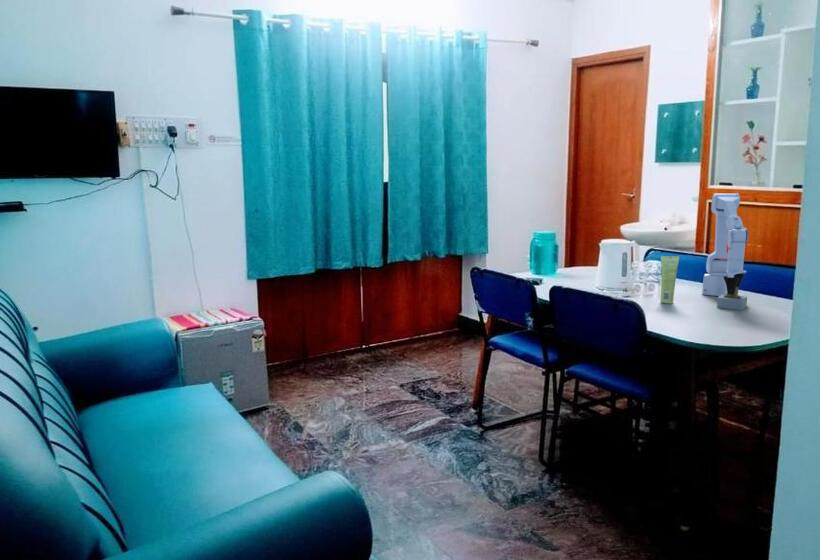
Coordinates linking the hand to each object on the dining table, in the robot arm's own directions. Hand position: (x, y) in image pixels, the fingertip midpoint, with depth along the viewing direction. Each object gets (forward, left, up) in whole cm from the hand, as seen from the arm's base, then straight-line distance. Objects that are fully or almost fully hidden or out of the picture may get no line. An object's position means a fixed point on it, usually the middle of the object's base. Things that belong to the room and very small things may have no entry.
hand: (732, 292), depth 253 cm
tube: (-23, -7, -6) cm, 25 cm away
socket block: (0, 0, -6) cm, 6 cm away
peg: (0, 0, -6) cm, 6 cm away
